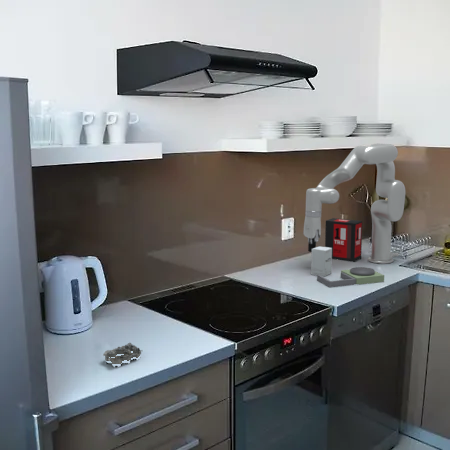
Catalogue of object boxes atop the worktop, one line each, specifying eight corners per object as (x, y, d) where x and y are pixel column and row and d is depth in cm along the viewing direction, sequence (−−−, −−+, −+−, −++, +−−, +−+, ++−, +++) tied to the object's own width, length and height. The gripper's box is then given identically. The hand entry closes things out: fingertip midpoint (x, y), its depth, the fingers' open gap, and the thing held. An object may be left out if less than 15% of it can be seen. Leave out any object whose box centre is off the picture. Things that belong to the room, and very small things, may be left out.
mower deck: (367, 273, 263) (367, 265, 262) (384, 281, 250) (384, 272, 249) (315, 279, 255) (315, 270, 254) (330, 287, 242) (330, 278, 241)
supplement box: (324, 277, 258) (325, 250, 256) (310, 274, 263) (310, 248, 260) (331, 273, 264) (332, 247, 262) (317, 271, 268) (318, 245, 266)
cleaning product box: (361, 258, 292) (362, 221, 288) (354, 262, 285) (355, 223, 281) (332, 254, 301) (333, 218, 298) (324, 257, 294) (325, 220, 291)
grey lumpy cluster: (114, 370, 165) (113, 357, 164) (101, 362, 170) (100, 349, 169) (144, 359, 172) (144, 347, 171) (131, 352, 177) (130, 340, 176)
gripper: (299, 212, 272) (298, 248, 276) (313, 216, 258) (311, 255, 262) (313, 211, 275) (311, 247, 278) (327, 216, 261) (326, 254, 264)
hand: (311, 251), depth 270 cm, fingers closed
